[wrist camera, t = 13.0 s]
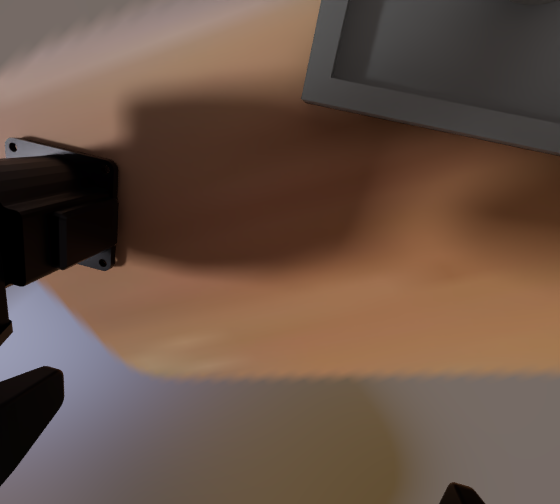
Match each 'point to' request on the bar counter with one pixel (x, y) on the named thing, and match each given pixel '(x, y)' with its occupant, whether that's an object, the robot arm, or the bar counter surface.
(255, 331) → the bar counter surface
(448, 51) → the tray
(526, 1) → the ceramic cup
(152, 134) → the bar counter surface
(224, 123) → the bar counter surface
